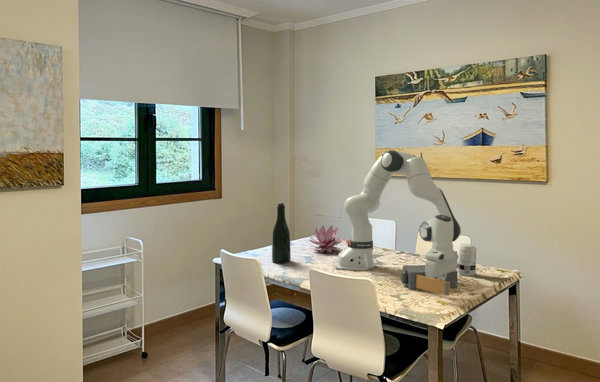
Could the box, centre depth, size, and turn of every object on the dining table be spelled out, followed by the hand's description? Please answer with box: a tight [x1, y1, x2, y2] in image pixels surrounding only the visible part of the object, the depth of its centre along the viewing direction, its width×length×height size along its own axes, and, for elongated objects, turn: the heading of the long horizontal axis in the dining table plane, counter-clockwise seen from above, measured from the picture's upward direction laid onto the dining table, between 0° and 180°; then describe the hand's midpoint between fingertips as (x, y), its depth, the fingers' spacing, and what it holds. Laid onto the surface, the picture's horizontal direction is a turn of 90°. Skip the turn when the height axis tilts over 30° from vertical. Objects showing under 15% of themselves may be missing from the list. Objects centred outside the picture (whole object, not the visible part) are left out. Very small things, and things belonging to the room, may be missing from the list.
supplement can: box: [457, 243, 477, 277], centre depth 246 cm, size 8×8×15 cm
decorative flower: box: [309, 225, 344, 253], centre depth 297 cm, size 21×21×15 cm
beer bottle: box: [271, 202, 292, 264], centre depth 272 cm, size 10×10×33 cm
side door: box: [416, 275, 451, 297], centre depth 214 cm, size 16×2×6 cm, turn 44°
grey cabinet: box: [400, 264, 459, 291], centre depth 228 cm, size 24×12×8 cm, turn 94°
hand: (441, 283), depth 214 cm, fingers closed
